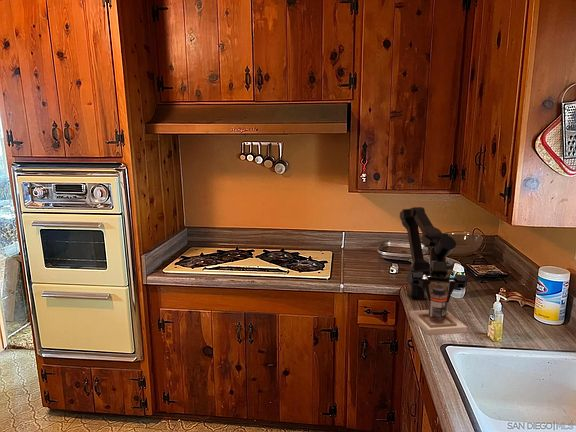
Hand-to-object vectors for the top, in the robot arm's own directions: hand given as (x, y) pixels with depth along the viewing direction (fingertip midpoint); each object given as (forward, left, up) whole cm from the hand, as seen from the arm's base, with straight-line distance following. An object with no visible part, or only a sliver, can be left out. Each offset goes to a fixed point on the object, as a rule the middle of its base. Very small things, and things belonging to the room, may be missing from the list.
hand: (438, 301), depth 151 cm
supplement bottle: (-1, +1, -7) cm, 7 cm away
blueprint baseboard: (-3, +2, -10) cm, 10 cm away
